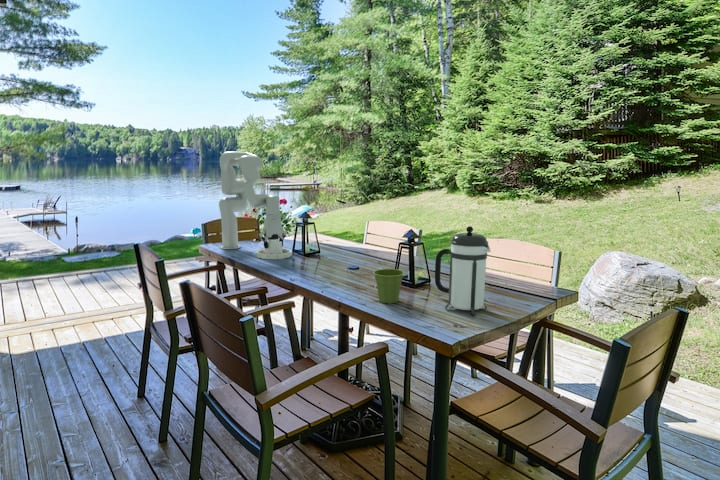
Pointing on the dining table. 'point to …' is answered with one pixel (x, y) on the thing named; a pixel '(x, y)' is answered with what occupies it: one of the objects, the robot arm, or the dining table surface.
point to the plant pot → (388, 284)
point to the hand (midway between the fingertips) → (273, 247)
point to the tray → (285, 254)
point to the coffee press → (465, 271)
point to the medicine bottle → (274, 245)
